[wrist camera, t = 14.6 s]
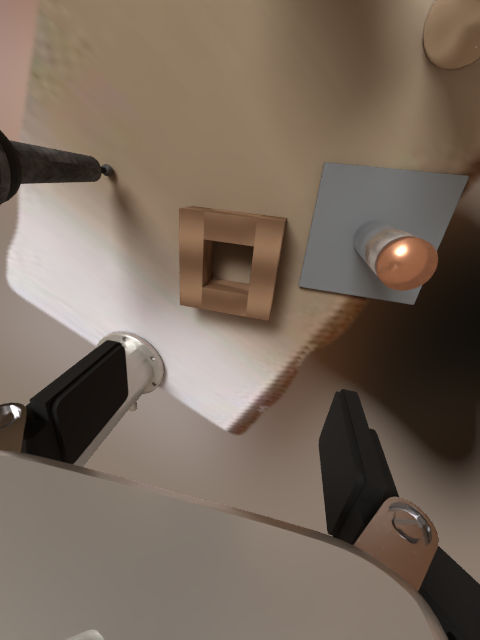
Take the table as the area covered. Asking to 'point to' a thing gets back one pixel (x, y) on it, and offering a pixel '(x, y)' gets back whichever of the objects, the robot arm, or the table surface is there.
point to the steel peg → (395, 255)
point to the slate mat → (367, 205)
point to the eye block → (198, 252)
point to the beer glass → (453, 33)
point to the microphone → (43, 166)
